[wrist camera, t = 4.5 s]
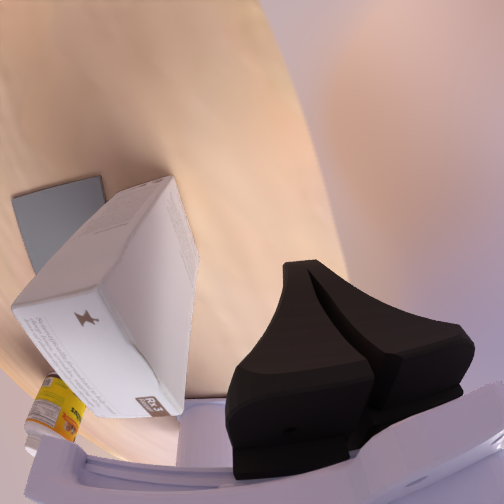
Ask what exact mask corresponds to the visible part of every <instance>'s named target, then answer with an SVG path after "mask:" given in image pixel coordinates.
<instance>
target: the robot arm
mask: <svg viewBox="0 0 504 504" xmlns="http://www.w3.org/2000/svg"><path fill="white" fill-rule="evenodd" d="M474 352H475V346H474V343H473V341H472V340H471V339H470V338H469V336H468V335H467V334H466V332H465V331H464V330H463V329H462V327H461V326H460V325H458V324H452V323H447V322H441V321H436V320H431V319H428V318H424V317H420V316H417V315H414V314H411V313H408V312H405V311H402V310H399V309H397V308H394V307H392V306H390V305H387V304H385V303H383V302H381V301H379V300H377V299H375V298H373V297H371V296H369V295H367V294H366V293H364V292H362V291H361V290H359V289H357V288H356V287H354V286H353V285H351V284H350V283H348V282H347V281H345V280H344V279H342V278H341V277H340V276H338V275H337V274H335V273H334V272H333V271H331V270H330V269H329V268H327V267H326V266H325V265H323V264H322V263H321V262H319V261H318V260H316V259H315V260H305V261H295V262H285V263H284V264H283V290H282V294H281V297H280V300H279V303H278V306H277V309H276V311H275V314H274V316H273V318H272V320H271V322H270V324H269V326H268V327H267V329H266V331H265V333H264V334H263V336H262V337H261V339H260V340H259V341H258V343H257V344H256V345H255V347H254V348H253V349H252V351H251V352H250V353H249V354H248V355H247V356H246V357H245V358H244V359H243V360H242V361H241V363H240V364H239V365H238V366H237V367H236V369H235V372H234V374H233V377H232V380H231V383H230V386H229V389H228V393H227V397H226V398H214V399H184V410H183V413H182V414H180V415H175V416H176V418H177V419H178V421H179V423H180V428H179V438H178V448H177V458H176V467H175V466H161V465H150V464H141V463H133V462H126V461H119V460H113V459H107V458H101V457H97V456H92V455H87V454H86V452H85V451H84V450H83V449H82V448H81V447H80V446H78V445H77V444H75V443H73V442H71V441H68V440H65V439H61V438H57V437H53V436H49V435H46V434H44V435H43V436H42V438H41V441H40V444H39V447H38V450H37V452H36V455H35V458H34V461H33V465H32V468H31V471H30V474H29V477H28V481H27V485H26V488H25V492H24V495H25V497H27V498H29V499H30V500H32V501H34V502H35V503H37V504H504V384H503V383H502V381H498V382H493V383H490V384H487V385H485V386H483V387H481V388H479V389H477V390H475V391H473V392H470V393H468V394H466V395H464V396H462V395H463V389H462V388H461V386H460V384H459V383H460V382H461V380H462V378H463V377H464V375H465V373H466V371H467V370H468V368H469V366H470V364H471V362H472V360H473V357H474ZM460 396H462V397H460Z"/></svg>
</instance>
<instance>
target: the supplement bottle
mask: <svg viewBox="0 0 504 504" xmlns="http://www.w3.org/2000/svg"><path fill="white" fill-rule="evenodd" d="M85 408H86V405H85V404H84V403H83V402H82V401H81V400H80V399H79V398H78V397H77V396H76V394H75V393H74V392H73V391H72V390H71V389H70V388H69V387H68V386H67V384H66V383H65V382H64V381H63V380H62V379H61V377H60V376H59V375H58V374H57V373H56V372H51V373H49V374H48V375H47V377H46V378H45V380H44V382H43V384H42V386H41V388H40V390H39V393H38V395H37V397H36V399H35V401H34V403H33V406H32V408H31V410H30V412H29V415H28V417H27V419H26V422H25V425H24V428H25V431H26V433H27V434H28V437H27V440H26V443H25V446H24V447H25V449H26V451H27V452H28V453H30V454H31V455H32V456H34V457H35V455H36V452H37V450H38V447H39V444H40V441H41V438H42V436H43V435H44V434H46V435H49V436H53V437H57V438H61V439H65V440H68V441H71V442H73V443H74V441H75V438H76V435H77V432H78V429H79V425H80V422H81V419H82V416H83V413H84V411H85Z"/></svg>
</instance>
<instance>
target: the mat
mask: <svg viewBox="0 0 504 504" xmlns="http://www.w3.org/2000/svg"><path fill="white" fill-rule="evenodd" d="M11 201H12V205H13V208H14V212H15V216H16V219H17V222H18V226H19V229H20V232H21V235H22V238H23V241H24V244H25V247H26V250H27V253H28V256H29V258H30V261H31V264H32V266H33V269H34V271H35V274H36V275H37V274H38V272H39V271H40V270H41V268H42V267H43V266H44V265H45V264H46V263H47V262H48V260H49V259H50V258H51V257H52V256H53V255H54V254H55V253H56V252H57V251H58V250H59V249H60V248H61V247H62V246H63V244H64V243H65V242H66V241H67V240H68V239H69V238H70V237H71V236H72V235H73V234H74V233H75V232H76V231H77V230H78V229H79V228H80V227H81V226H82V225H83V224H84V223H85V222H86V221H87V220H88V219H89V218H91V217H92V216H93V215H94V214H95V213H96V212H97V211H98V210H99V209H100V208H101V207H102V206H103V205H104V204H106V199H105V194H104V189H103V185H102V180H101V176H96V177H92V178H87V179H83V180H79V181H75V182H71V183H66V184H63V185H59V186H55V187H51V188H47V189H44V190H40V191H36V192H33V193H30V194H26V195H23V196H20V197H16V198H13V199H11Z"/></svg>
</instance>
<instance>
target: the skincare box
mask: <svg viewBox="0 0 504 504" xmlns="http://www.w3.org/2000/svg"><path fill="white" fill-rule="evenodd" d="M199 259H200V256H199V253H198V250H197V247H196V244H195V241H194V238H193V235H192V232H191V229H190V226H189V223H188V219H187V216H186V213H185V210H184V207H183V204H182V201H181V197H180V194H179V191H178V187H177V184H176V181H175V178H174V176H173V175H170V176H167V177H163V178H160V179H156V180H153V181H150V182H147V183H143V184H140V185H137V186H134V187H131V188H128V189H125V190H123V191H120V192H117V193H116V194H115V195H114V196H113V197H112V198H111V199H110V200H109V201H108V202H107V203H106V204H104V205H103V206H102V207H101V208H100V209H99V210H98V211H97V212H96V213H95V214H94V215H93V216H92V217H91V218H89V219H88V220H87V221H86V222H85V223H84V224H83V225H82V226H81V227H80V228H79V229H78V230H77V231H76V232H75V233H74V234H73V235H72V236H71V237H70V238H69V239H68V240H67V241H66V242H65V243H64V244H63V246H62V247H61V248H60V249H59V250H58V251H57V252H56V253H55V254H54V255H53V256H52V257H51V258H50V259H49V260H48V262H47V263H46V264H45V265H44V266H43V267H42V268H41V270H40V271H39V272H38V274H37V275H36V276H35V277H34V278H33V279H32V280H31V282H30V283H29V284H28V285H27V286H26V287H25V288H24V290H23V291H22V292H21V293H20V295H19V296H18V297H17V298H16V300H15V301H14V302H13V304H12V306H11V311H12V312H13V314H14V316H15V317H16V319H17V320H18V322H19V323H20V324H21V326H22V327H23V329H24V330H25V332H26V333H27V335H28V336H29V337H30V339H31V340H32V342H33V343H34V344H35V346H36V347H37V349H38V350H39V351H40V353H41V354H42V355H43V356H44V358H45V359H46V360H47V362H48V363H49V364H50V365H51V366H52V368H53V369H54V370H55V371H56V373H57V374H58V375H59V376H60V377H61V379H62V380H63V381H64V382H65V383H66V384H67V386H68V387H69V388H70V389H71V390H72V391H73V392H74V393H75V394H76V396H77V397H78V398H79V399H80V400H81V401H82V402H83V403H84V404H85V405H86V406H87V407H88V408H89V409H90V410H91V411H92V412H93V413H94V414H95V415H96V416H97V417H102V418H141V417H159V416H175V415H180V414H182V413H183V410H184V398H185V386H186V375H187V363H188V353H189V342H190V333H191V323H192V314H193V305H194V297H195V288H196V281H197V274H198V266H199Z"/></svg>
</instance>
